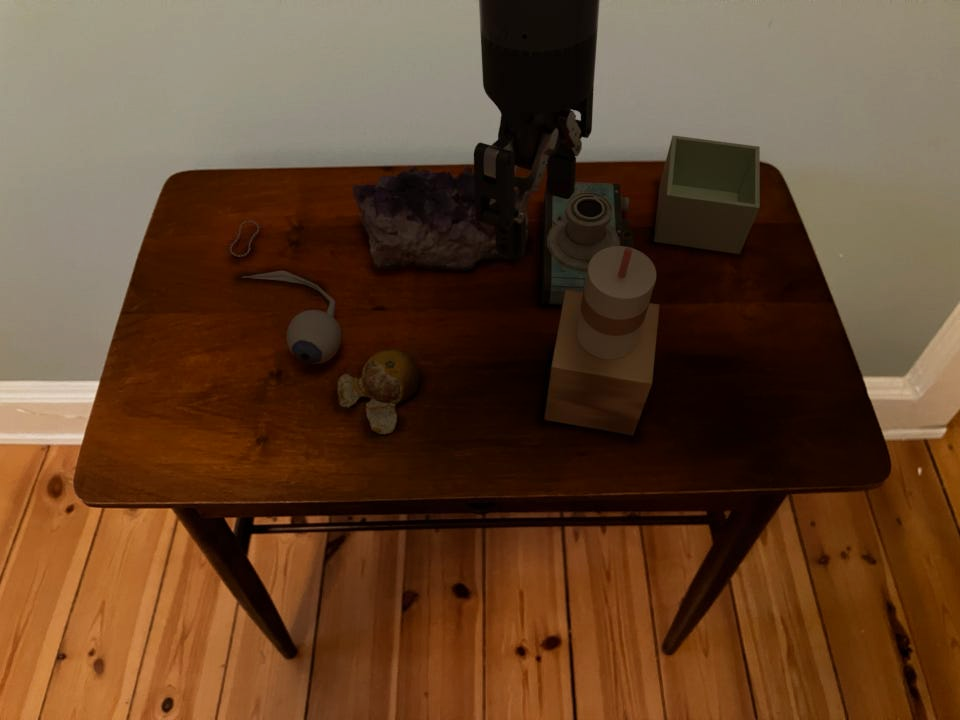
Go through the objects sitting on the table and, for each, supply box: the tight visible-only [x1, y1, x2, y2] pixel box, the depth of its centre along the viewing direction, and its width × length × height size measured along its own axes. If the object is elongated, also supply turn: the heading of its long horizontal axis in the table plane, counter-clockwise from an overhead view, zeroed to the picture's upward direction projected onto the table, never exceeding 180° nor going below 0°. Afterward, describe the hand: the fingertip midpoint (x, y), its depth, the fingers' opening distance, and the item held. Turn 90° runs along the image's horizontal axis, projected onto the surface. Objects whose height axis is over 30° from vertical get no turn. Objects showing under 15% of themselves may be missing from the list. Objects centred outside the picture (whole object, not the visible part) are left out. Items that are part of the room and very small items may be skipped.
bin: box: [653, 135, 761, 255], centre depth 87 cm, size 10×10×8 cm
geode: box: [352, 165, 530, 272], centre depth 84 cm, size 20×12×10 cm, turn 91°
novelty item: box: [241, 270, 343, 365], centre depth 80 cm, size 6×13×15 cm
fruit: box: [336, 349, 421, 435], centre depth 75 cm, size 8×8×4 cm
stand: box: [543, 290, 660, 436], centre depth 72 cm, size 9×9×10 cm
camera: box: [541, 180, 635, 306], centre depth 83 cm, size 16×10×10 cm
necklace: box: [229, 219, 261, 258], centre depth 87 cm, size 2×5×1 cm, turn 166°
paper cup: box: [577, 246, 657, 360], centre depth 63 cm, size 6×6×13 cm
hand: (536, 223), depth 59 cm, fingers open, 8 cm apart
